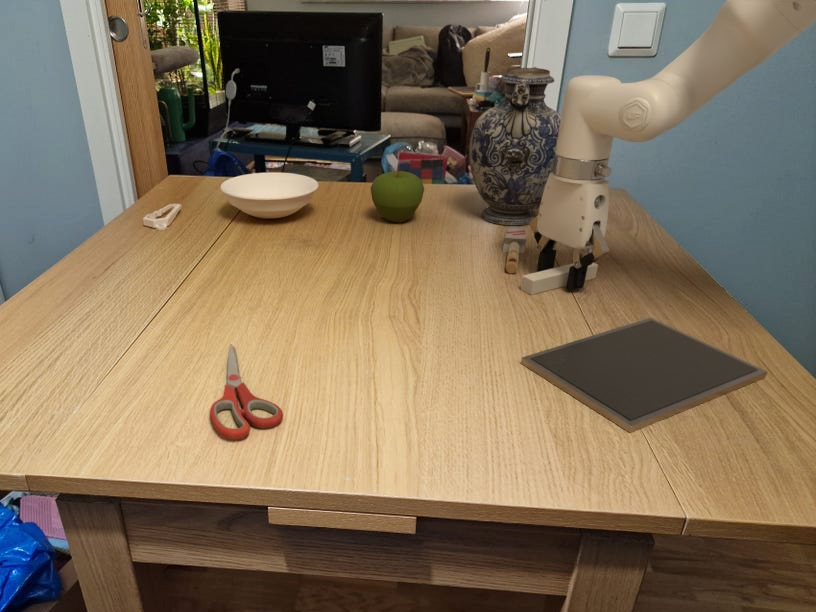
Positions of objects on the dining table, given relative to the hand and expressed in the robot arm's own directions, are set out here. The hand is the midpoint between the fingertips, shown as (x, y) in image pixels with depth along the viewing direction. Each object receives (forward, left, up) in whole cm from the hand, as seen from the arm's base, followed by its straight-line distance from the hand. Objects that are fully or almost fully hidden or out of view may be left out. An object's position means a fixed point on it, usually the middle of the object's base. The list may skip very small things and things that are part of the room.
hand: (559, 280), depth 106 cm
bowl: (+26, -55, -1) cm, 61 cm away
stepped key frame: (+47, -62, -1) cm, 78 cm away
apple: (+5, -40, -1) cm, 40 cm away
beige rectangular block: (0, 0, -1) cm, 1 cm away
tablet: (+11, +25, -1) cm, 27 cm away
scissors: (+58, +5, -1) cm, 58 cm away
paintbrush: (-3, -14, -1) cm, 14 cm away
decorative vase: (-16, -30, -1) cm, 34 cm away
